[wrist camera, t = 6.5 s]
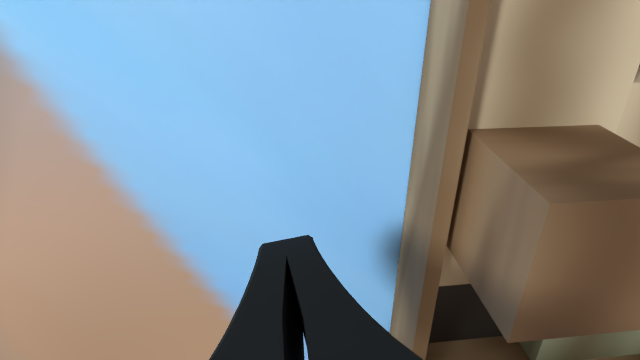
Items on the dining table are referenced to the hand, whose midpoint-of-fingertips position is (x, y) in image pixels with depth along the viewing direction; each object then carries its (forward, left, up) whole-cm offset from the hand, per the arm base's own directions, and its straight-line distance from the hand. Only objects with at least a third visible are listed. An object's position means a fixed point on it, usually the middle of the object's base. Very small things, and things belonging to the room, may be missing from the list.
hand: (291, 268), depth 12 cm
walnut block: (-8, 0, -3) cm, 9 cm away
